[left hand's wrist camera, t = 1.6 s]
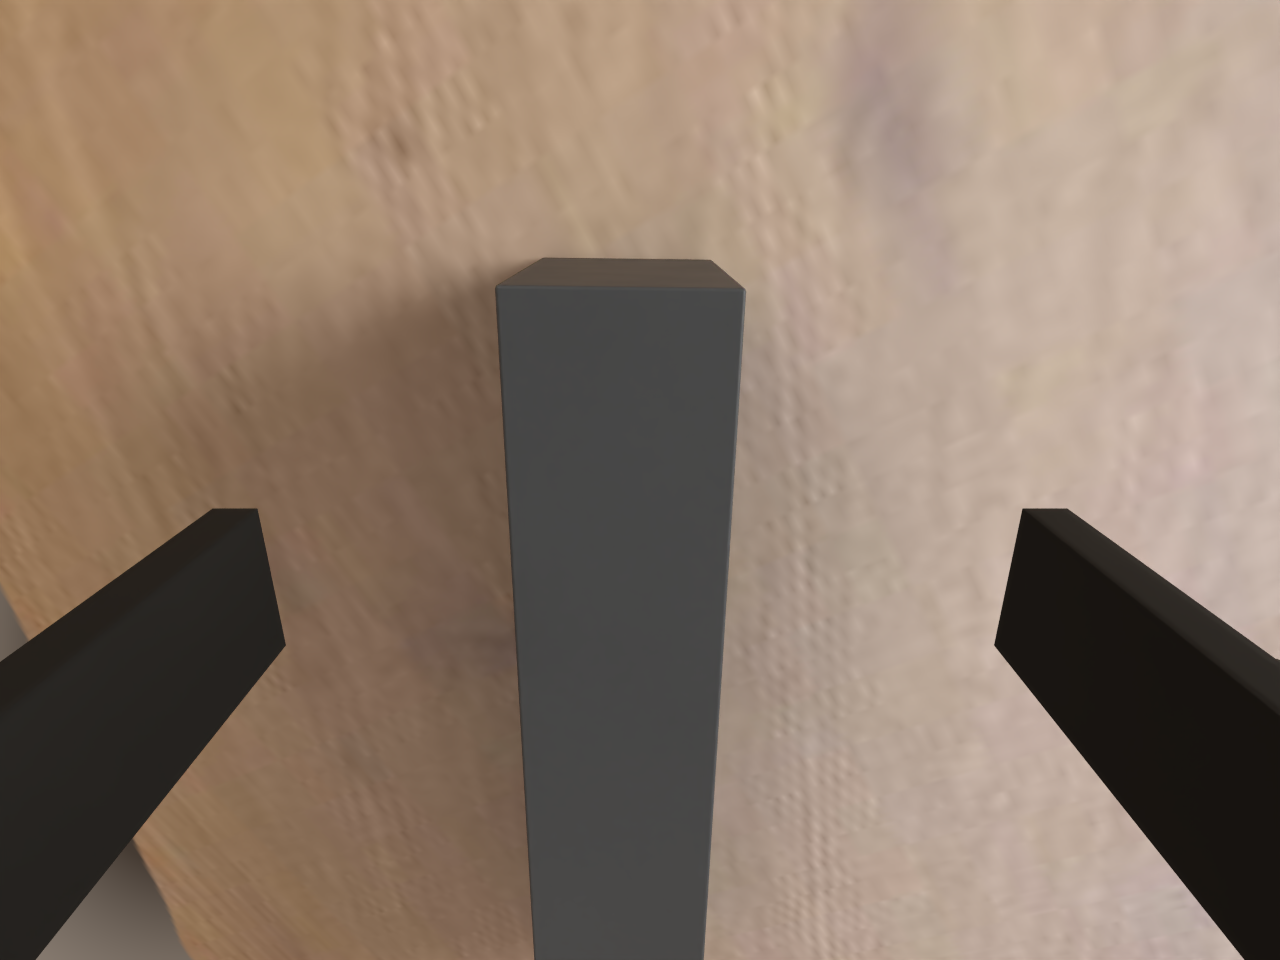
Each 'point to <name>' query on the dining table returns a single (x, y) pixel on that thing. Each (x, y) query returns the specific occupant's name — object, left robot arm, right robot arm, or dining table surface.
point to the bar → (619, 588)
